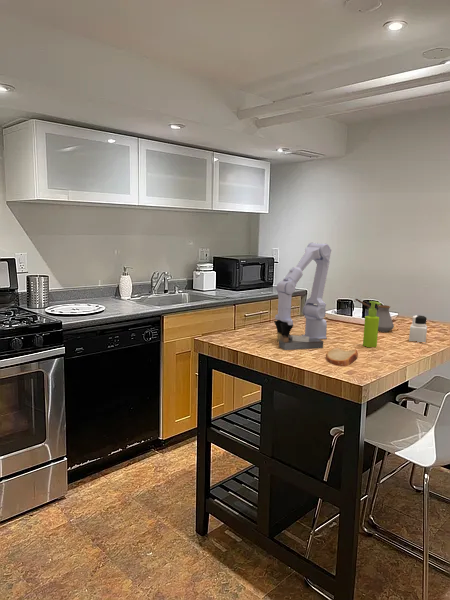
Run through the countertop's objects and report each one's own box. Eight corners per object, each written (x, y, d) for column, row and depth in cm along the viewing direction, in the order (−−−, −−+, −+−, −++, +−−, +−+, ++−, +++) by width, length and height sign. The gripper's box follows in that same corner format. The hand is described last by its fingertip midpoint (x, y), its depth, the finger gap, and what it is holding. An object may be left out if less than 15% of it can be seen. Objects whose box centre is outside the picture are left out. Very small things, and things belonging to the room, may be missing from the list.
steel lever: (308, 341, 199) (309, 336, 199) (308, 342, 197) (308, 337, 196) (288, 339, 201) (288, 334, 201) (287, 340, 199) (288, 335, 199)
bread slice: (338, 368, 174) (339, 358, 173) (311, 355, 190) (312, 346, 190) (377, 364, 181) (377, 354, 180) (347, 352, 197) (348, 343, 197)
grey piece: (316, 344, 207) (317, 333, 206) (323, 348, 202) (323, 336, 201) (278, 346, 202) (279, 335, 201) (284, 349, 196) (285, 338, 195)
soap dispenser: (371, 348, 203) (375, 303, 200) (359, 345, 209) (363, 300, 206) (381, 347, 206) (385, 302, 203) (369, 343, 212) (373, 300, 209)
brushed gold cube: (285, 340, 213) (285, 332, 212) (289, 343, 208) (289, 334, 208) (276, 341, 211) (277, 332, 211) (281, 343, 207) (281, 334, 207)
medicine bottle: (425, 340, 223) (428, 315, 221) (425, 343, 216) (427, 317, 214) (409, 338, 226) (412, 313, 224) (408, 341, 219) (411, 316, 217)
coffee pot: (396, 330, 243) (399, 302, 241) (389, 334, 234) (391, 304, 231) (356, 324, 255) (358, 297, 253) (348, 327, 246) (350, 299, 244)
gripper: (269, 305, 213) (268, 334, 215) (282, 310, 199) (281, 342, 202) (283, 305, 215) (282, 334, 217) (298, 310, 202) (296, 341, 204)
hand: (282, 337), depth 210 cm, fingers closed on brushed gold cube, 4 cm apart
